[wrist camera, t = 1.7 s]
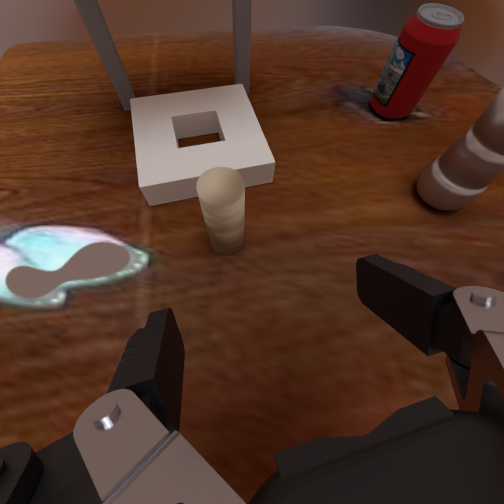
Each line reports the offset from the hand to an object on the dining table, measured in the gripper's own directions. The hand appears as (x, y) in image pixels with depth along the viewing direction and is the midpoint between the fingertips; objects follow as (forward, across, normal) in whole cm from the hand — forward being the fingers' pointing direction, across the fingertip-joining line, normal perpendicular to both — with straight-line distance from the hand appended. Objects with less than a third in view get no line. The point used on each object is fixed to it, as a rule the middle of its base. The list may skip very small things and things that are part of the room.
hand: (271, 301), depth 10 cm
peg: (+19, 0, +2) cm, 19 cm away
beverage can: (+32, -31, -9) cm, 45 cm away
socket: (+30, 0, -8) cm, 31 cm away
